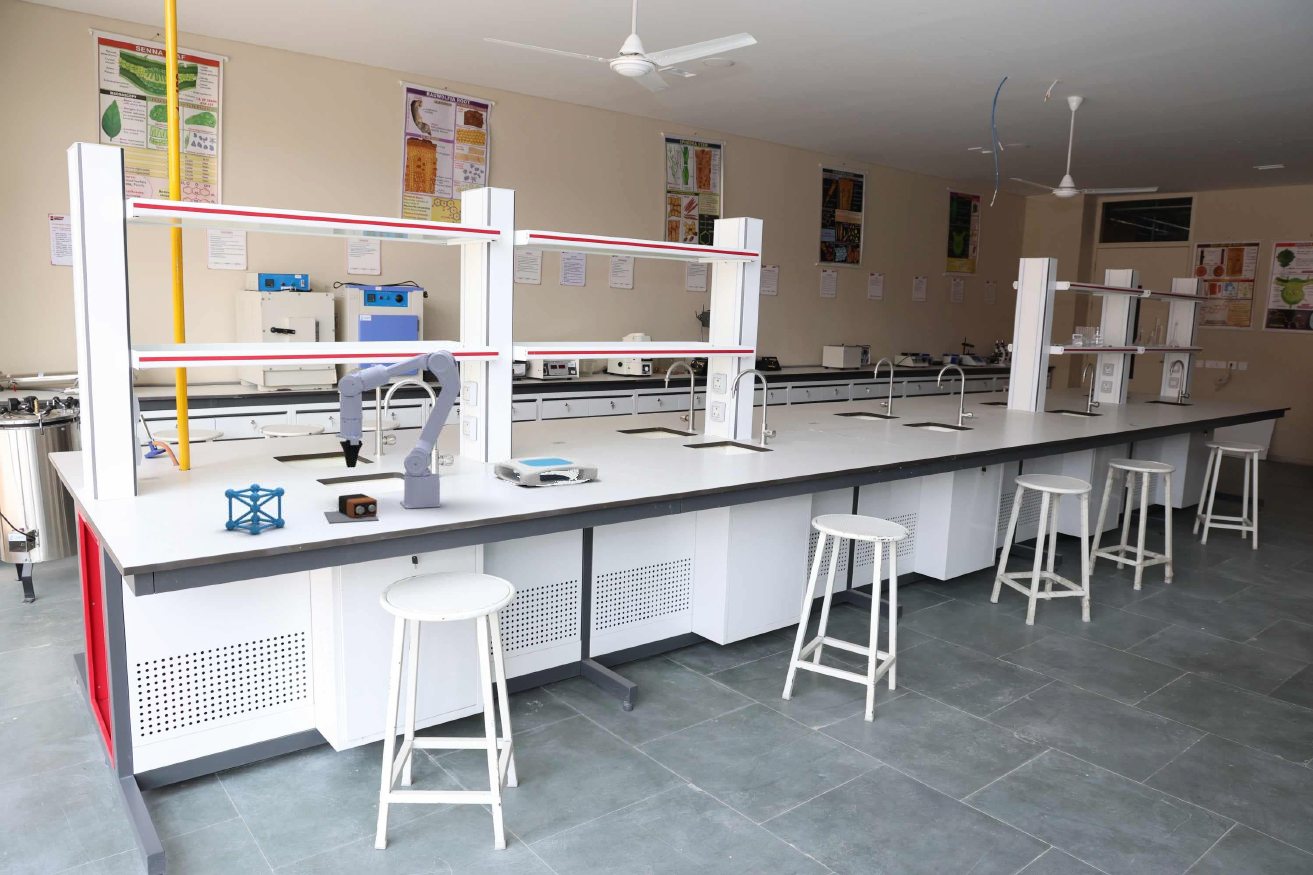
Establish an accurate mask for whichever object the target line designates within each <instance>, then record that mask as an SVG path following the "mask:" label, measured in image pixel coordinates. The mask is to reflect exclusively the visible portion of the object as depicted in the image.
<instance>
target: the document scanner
mask: <svg viewBox="0 0 1313 875" xmlns="http://www.w3.org/2000/svg"><path fill="white" fill-rule="evenodd" d="M493 465H494V466H493V467H494V468H493V474H494V475H496V476H497V478H499V479H500V478H501V479H500V480H502V479H503V480H505V481H509V482H512V483H515V484H517V485H527V486H526V487H532V486H536V485H547V484H554V483H558V482H557V481H564V479H558V480H557V479H555V480H554V479H553V480H541V476H540V474H541V473H545V472H551V471H568V470H569V471H570V470H571V471H573V470H578V473H579V474H578V476H577V477H576V478H577V480H586V479H592V480H594V479H593V478H595V479H597V478H598V471H599V468H598V467H596V466H595V465H594V464H592V463H591V462H589V461H587V460H583V459H580V458H577V457H571V456H568V457H567V456H553V455H548V456H547V455H546V456H545V455H543V456H533V457H532V456H531V457H530V456H529V457H516V458H511V459H508V460H504V461H501V462H499V463H495V464H493ZM515 471H516V472H515ZM517 476H520V478H519V477H517ZM503 480H502V481H503ZM505 481H504V482H505ZM555 481H556V482H555ZM565 481H569V480H565ZM570 481H576V480H575V479H573V480H570ZM517 485H516V486H517Z"/></svg>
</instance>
